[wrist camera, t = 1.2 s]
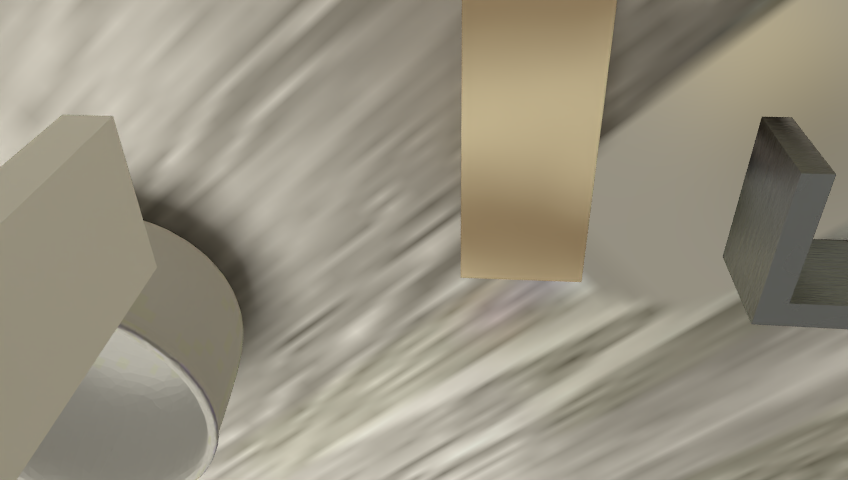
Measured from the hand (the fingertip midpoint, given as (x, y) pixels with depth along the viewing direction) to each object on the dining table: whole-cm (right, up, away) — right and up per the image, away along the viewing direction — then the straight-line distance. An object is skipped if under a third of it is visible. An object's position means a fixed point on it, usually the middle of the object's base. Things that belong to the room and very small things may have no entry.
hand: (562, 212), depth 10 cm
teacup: (-15, -3, +22) cm, 27 cm away
